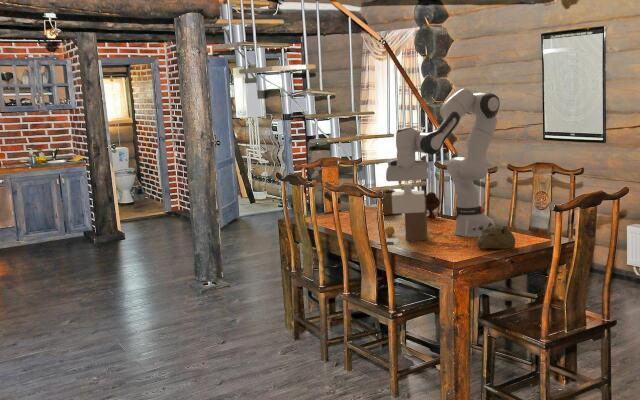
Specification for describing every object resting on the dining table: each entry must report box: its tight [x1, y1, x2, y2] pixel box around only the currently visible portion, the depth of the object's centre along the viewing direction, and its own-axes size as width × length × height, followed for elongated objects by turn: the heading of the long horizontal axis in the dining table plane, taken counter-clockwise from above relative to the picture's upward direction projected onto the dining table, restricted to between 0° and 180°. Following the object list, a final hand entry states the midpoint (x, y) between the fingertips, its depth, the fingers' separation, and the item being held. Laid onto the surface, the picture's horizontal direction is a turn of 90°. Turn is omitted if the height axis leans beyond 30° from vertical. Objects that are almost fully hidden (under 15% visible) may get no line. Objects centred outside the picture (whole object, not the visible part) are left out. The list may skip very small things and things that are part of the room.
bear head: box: [476, 223, 516, 252], centre depth 321 cm, size 14×18×12 cm
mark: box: [386, 238, 399, 245], centre depth 348 cm, size 10×12×1 cm
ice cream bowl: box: [424, 191, 441, 219], centre depth 400 cm, size 11×11×15 cm
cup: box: [392, 182, 425, 215], centre depth 335 cm, size 15×10×13 cm
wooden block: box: [404, 198, 428, 241], centre depth 349 cm, size 10×10×20 cm
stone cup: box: [382, 189, 400, 216], centre depth 417 cm, size 15×12×15 cm
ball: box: [384, 225, 395, 237], centre depth 360 cm, size 5×5×5 cm
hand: (407, 189), depth 335 cm, fingers closed on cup, 3 cm apart
